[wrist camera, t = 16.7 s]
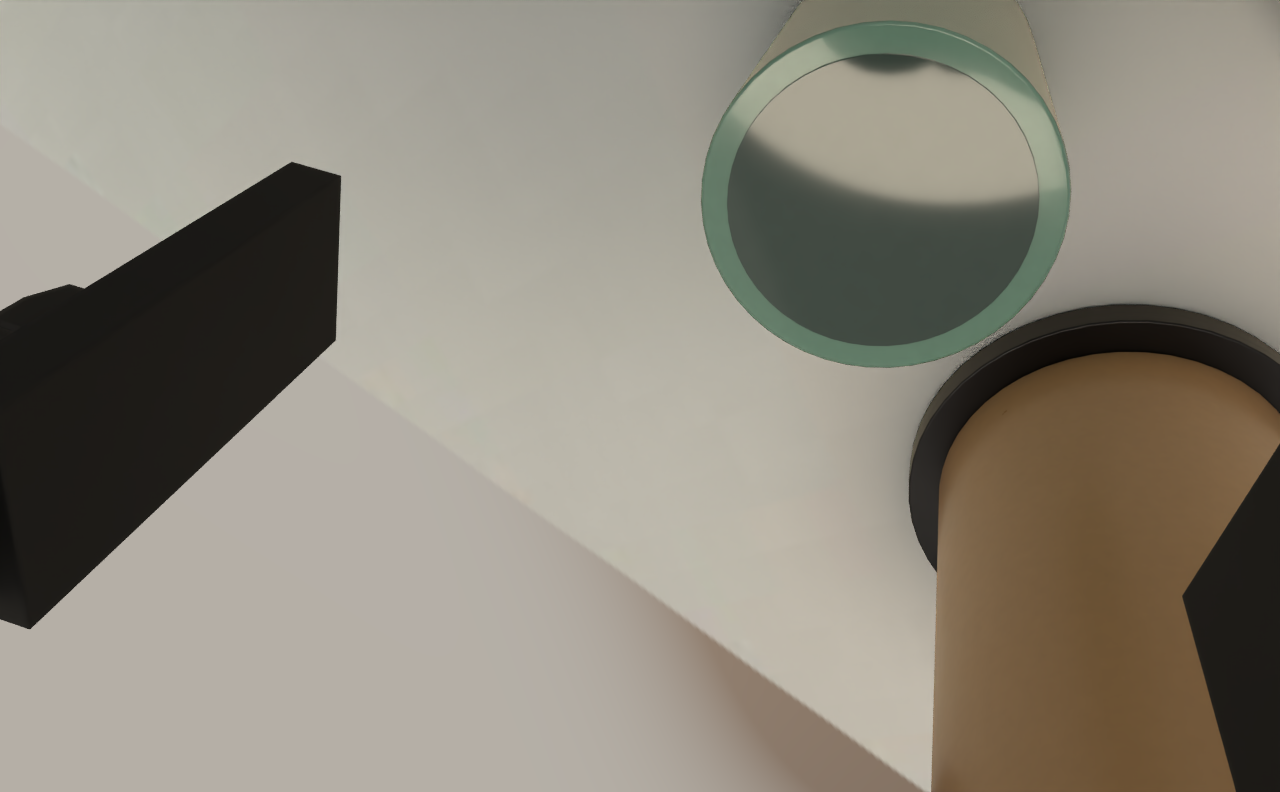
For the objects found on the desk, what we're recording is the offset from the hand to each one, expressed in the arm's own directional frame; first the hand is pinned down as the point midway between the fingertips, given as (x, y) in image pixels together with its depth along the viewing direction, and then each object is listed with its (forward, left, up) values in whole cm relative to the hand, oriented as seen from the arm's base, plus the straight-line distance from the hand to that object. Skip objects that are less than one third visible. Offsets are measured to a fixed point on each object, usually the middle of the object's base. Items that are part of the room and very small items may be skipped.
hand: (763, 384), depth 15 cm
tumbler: (+1, +1, -19) cm, 19 cm away
